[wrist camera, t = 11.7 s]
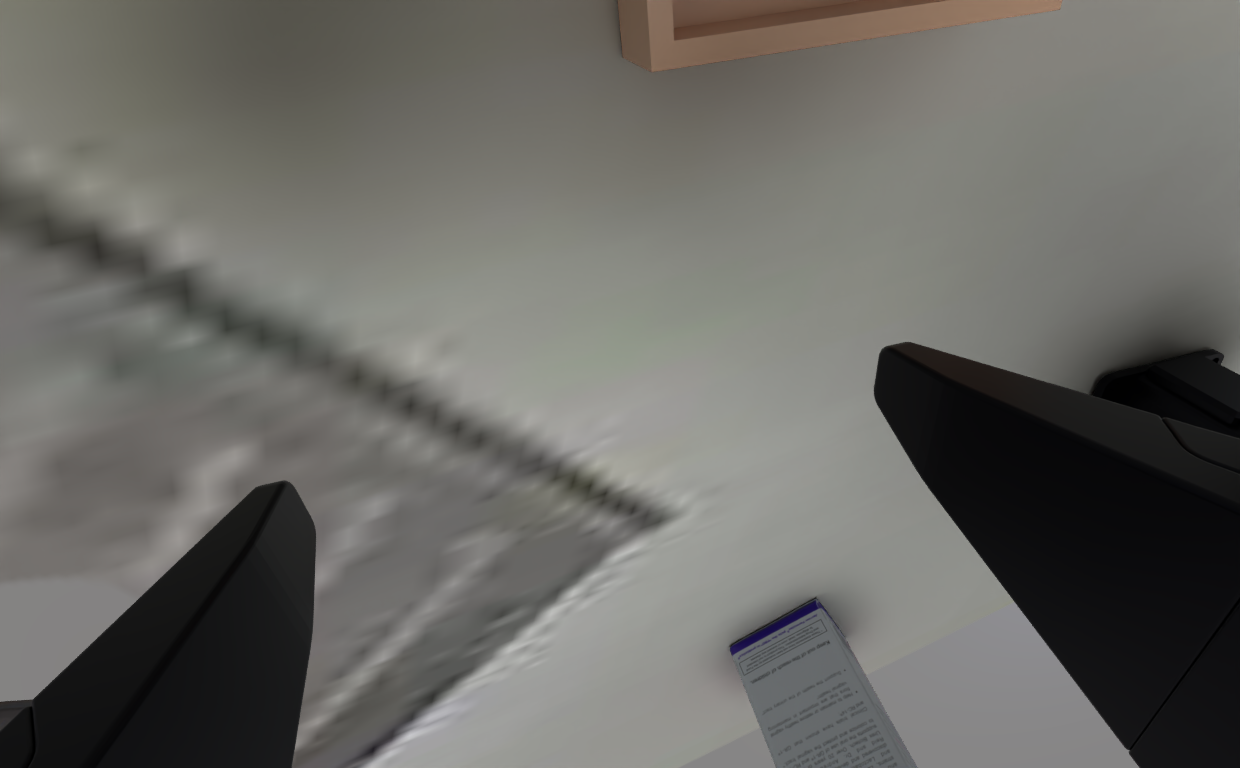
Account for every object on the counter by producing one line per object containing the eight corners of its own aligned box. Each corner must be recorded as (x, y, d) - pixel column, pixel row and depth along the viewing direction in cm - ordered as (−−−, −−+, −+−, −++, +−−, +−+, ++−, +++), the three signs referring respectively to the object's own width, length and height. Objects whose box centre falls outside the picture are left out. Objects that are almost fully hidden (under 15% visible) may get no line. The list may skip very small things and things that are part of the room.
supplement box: (723, 647, 35) (823, 893, 26) (816, 595, 34) (953, 828, 25) (762, 687, 38) (862, 917, 29) (847, 640, 38) (979, 861, 28)
